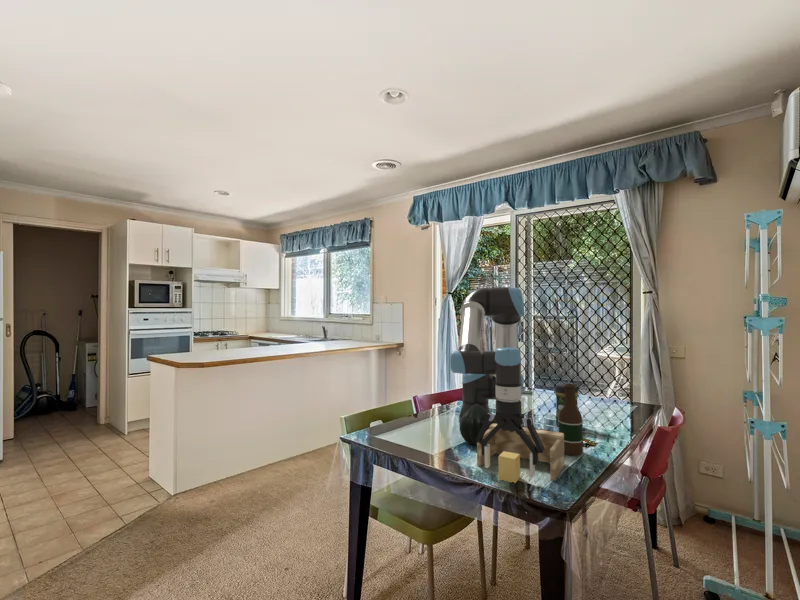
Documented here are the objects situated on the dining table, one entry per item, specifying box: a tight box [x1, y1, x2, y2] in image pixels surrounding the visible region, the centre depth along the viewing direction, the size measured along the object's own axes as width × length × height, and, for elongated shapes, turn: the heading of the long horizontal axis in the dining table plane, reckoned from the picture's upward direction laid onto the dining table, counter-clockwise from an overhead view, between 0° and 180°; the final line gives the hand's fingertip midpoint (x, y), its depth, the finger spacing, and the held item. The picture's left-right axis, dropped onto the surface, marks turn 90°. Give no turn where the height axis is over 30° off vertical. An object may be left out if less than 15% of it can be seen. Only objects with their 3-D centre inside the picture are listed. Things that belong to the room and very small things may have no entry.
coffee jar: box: [554, 382, 579, 428], centre depth 181 cm, size 10×8×19 cm
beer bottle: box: [558, 383, 584, 457], centre depth 147 cm, size 8×8×24 cm
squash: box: [459, 404, 497, 445], centre depth 159 cm, size 14×15×15 cm
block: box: [497, 451, 521, 484], centre depth 124 cm, size 5×5×7 cm
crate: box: [476, 423, 565, 482], centre depth 135 cm, size 24×16×10 cm, turn 59°
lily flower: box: [583, 432, 596, 448], centre depth 158 cm, size 12×12×5 cm
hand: (509, 471), depth 124 cm, fingers open, 13 cm apart
